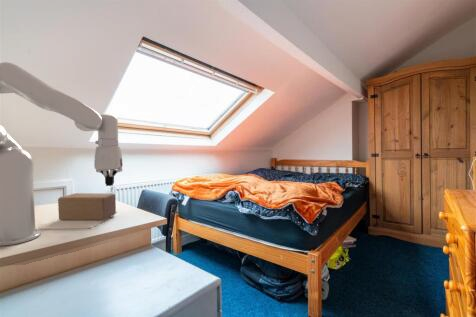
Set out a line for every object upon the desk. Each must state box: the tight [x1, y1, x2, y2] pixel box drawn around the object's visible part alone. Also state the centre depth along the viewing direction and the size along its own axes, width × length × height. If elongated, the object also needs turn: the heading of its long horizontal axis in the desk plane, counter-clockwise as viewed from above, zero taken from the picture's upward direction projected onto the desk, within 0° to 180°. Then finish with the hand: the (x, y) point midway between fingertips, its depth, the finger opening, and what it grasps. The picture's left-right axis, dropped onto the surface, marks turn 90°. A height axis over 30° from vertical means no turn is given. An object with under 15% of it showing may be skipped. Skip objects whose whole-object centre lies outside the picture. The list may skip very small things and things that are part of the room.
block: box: [57, 192, 117, 221], centre depth 102 cm, size 10×10×20 cm
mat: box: [37, 210, 118, 231], centre depth 100 cm, size 20×22×1 cm
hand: (109, 185), depth 100 cm, fingers closed
